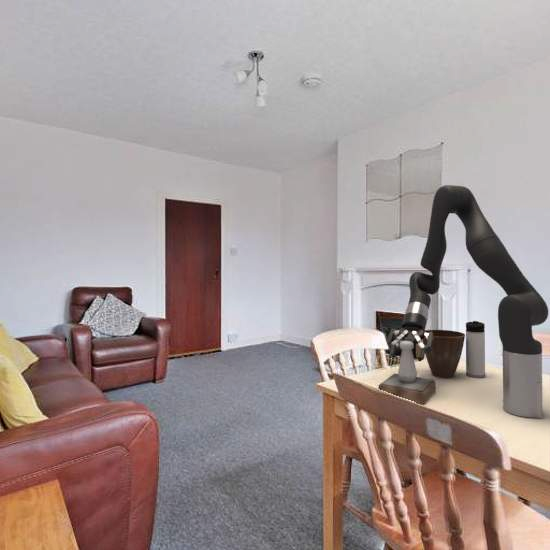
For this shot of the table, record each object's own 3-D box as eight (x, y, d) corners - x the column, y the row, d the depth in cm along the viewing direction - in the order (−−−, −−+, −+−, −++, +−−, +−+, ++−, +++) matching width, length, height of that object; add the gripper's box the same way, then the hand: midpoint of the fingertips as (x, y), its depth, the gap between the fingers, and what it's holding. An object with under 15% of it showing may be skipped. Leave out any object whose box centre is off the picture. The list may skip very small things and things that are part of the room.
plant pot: (452, 368, 146) (452, 329, 146) (473, 380, 131) (473, 336, 131) (415, 370, 146) (414, 330, 145) (432, 382, 131) (432, 337, 131)
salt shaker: (418, 384, 117) (417, 343, 117) (399, 383, 118) (398, 343, 118) (415, 378, 123) (414, 339, 122) (397, 377, 124) (396, 339, 124)
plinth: (435, 391, 121) (435, 379, 121) (423, 404, 110) (423, 391, 110) (393, 384, 130) (393, 372, 130) (378, 395, 119) (378, 383, 119)
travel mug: (485, 374, 139) (485, 321, 138) (484, 379, 133) (484, 324, 132) (467, 371, 142) (466, 320, 141) (465, 376, 136) (464, 322, 136)
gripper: (392, 310, 130) (381, 349, 121) (435, 312, 121) (426, 354, 112) (397, 323, 134) (387, 361, 125) (439, 326, 125) (431, 367, 117)
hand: (405, 358), depth 119 cm, fingers open, 8 cm apart
